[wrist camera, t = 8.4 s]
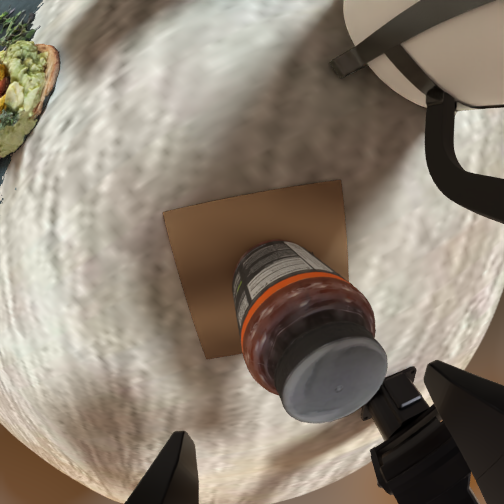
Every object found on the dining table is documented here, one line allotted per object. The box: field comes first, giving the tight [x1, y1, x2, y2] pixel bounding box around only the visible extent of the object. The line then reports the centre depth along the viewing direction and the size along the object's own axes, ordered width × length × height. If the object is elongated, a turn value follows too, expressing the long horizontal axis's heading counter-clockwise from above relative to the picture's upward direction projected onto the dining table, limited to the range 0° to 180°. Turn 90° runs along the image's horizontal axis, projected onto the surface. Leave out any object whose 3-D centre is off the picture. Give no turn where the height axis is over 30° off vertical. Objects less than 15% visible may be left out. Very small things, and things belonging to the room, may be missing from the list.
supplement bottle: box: [232, 239, 388, 423], centre depth 13 cm, size 6×6×11 cm
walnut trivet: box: [163, 180, 349, 359], centre depth 20 cm, size 12×12×1 cm
